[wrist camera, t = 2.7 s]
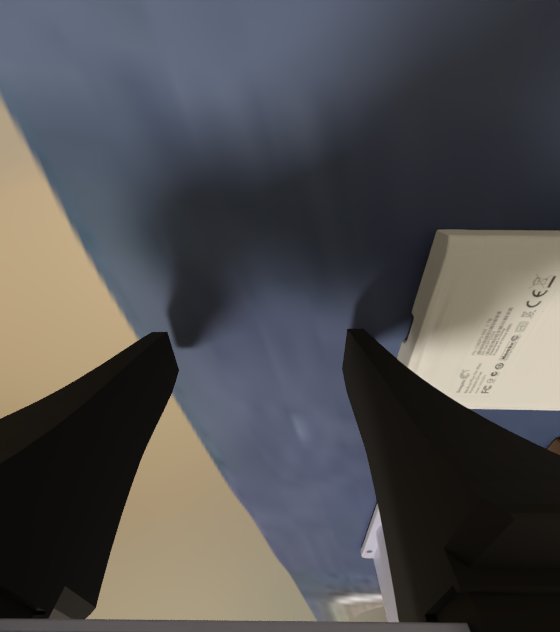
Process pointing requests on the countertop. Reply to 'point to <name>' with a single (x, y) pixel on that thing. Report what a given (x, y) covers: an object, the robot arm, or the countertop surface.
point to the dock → (555, 446)
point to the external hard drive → (489, 319)
